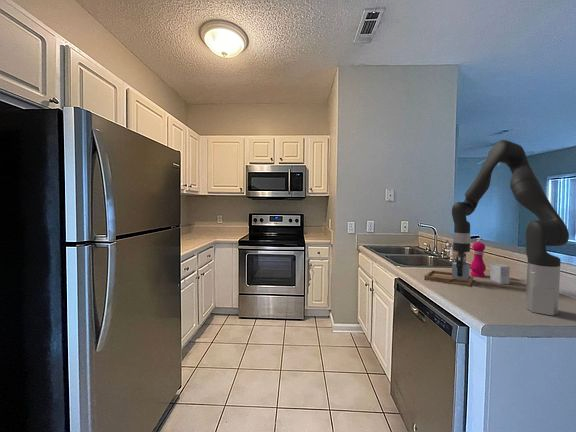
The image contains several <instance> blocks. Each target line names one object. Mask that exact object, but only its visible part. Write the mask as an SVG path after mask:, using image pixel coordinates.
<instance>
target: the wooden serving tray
mask: <svg viewBox="0 0 576 432" xmlns="http://www.w3.org/2000/svg"><path fill="white" fill-rule="evenodd" d="M423 280H424V281H429V280H430V281H431V282H435V281H436V283H442V282H443V283H444V284H450V285H455V286H464V287H470V286H471V285H472V283H473V281H474V276H471V275H469V280H462V279H456V278H452V272H447V271H442V270H429V272H428V273H426V274H425V275H424V279H423ZM443 283H442V284H443Z"/></svg>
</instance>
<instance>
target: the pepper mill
mask: <svg viewBox="0 0 576 432" xmlns="http://www.w3.org/2000/svg"><path fill="white" fill-rule="evenodd" d="M471 247H472V250H473V251H472V253H473V260H472V261H471V263H470V265H469V270H471V271H470V276H473V278H474V277H475V278H476V277H477V278H484V277H485V276H486V275H485V273H484V272H486V271H487V270H486V269H487V268H486V263H485V262H484V260H483V256H484V255H485V249H486V246H485V244H484V243H483V242H482V241H481V239H479V238H478V239H476V241H475V242H474V243H472V246H471Z"/></svg>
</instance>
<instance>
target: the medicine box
mask: <svg viewBox="0 0 576 432" xmlns="http://www.w3.org/2000/svg"><path fill="white" fill-rule="evenodd" d="M510 269H511V268H510V266H509V265H505V264H501V263H490V278H489V279H490V281H493V282H495V283H497V284H499V285H500V284H501V285H509V284H510V272H511V271H510Z"/></svg>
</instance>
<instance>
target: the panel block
mask: <svg viewBox="0 0 576 432" xmlns="http://www.w3.org/2000/svg"><path fill="white" fill-rule="evenodd" d="M451 265H452V266H451V273H452V278H456V279H462V280H469V276H470V265H471V263H464V265H463V274H462V277H460V276H457V268H456V262H455V261H453V262H452V264H451ZM459 266H461V264H459Z"/></svg>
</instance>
